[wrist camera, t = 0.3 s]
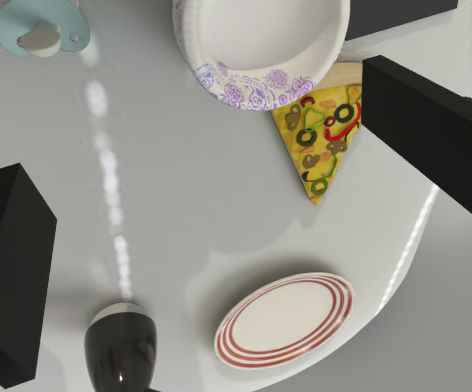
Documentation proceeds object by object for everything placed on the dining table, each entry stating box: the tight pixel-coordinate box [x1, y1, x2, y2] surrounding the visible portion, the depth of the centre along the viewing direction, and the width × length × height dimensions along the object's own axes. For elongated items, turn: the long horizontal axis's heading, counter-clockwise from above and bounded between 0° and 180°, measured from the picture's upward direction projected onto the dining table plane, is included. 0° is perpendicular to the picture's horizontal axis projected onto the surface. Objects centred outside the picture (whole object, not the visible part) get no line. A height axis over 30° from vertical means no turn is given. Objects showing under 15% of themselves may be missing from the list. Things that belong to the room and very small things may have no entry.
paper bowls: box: [172, 0, 350, 111], centre depth 35 cm, size 15×15×8 cm
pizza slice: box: [270, 62, 362, 207], centre depth 49 cm, size 16×21×3 cm
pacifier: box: [0, 0, 90, 58], centre depth 31 cm, size 7×6×6 cm
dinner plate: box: [213, 272, 355, 370], centre depth 70 cm, size 27×27×3 cm
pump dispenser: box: [84, 303, 160, 392], centre depth 54 cm, size 10×10×15 cm
